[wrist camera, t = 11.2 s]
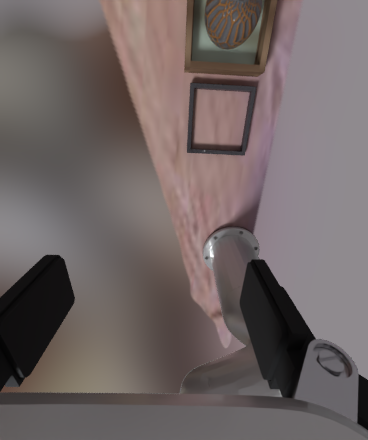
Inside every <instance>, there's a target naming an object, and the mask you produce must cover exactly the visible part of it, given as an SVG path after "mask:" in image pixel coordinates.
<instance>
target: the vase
mask: <svg viewBox="0 0 368 440" xmlns="http://www.w3.org/2000/svg"><path fill="white" fill-rule="evenodd" d="M261 8H262V0H207V1H206V6H205V27H206V31H207V34H208V36H209V38H210V40H211V41H212V42H213V44H215V45H216V46H217V47H219V48H221V49H225V50H229V49H234V48H236V47H238V46H240V45H242V44H243V43H244V42H245V41H246V40H247V39H248V38H249V37H250V35H251V34H252V32H253V31H254V29H255V27H256V25H257V23H258V20H259V17H260V13H261Z"/></svg>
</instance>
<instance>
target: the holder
mask: <svg viewBox="0 0 368 440" xmlns="http://www.w3.org/2000/svg"><path fill="white" fill-rule="evenodd" d="M206 1H207V0H187V21H186V46H185V71H184V72H188V73H205V74H221V75H238V76H255V77H258V76H259V75H261V74H262V73H264V71H265V66H266V60H267V55H268V49H269V44H270V38H271V32H272V27H273V21H274V16H275V10H276V5H277V0H262V8H261V13H260V17H259V20H258V23H257V25H256V27H255V29H254V31H253V32H252V34H251V35H250V37H249V38H248V39H247V40H246V41H245V42H244V43H243V44H242V45H240V46H238V47H236V48H234V49H229V50H225V49H221V48H219V47H217V46H216V45H215V44H213V42H212V41H211V40H210V38H209V36H208V34H207V31H206V27H205V6H206Z"/></svg>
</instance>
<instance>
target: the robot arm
mask: <svg viewBox="0 0 368 440" xmlns="http://www.w3.org/2000/svg"><path fill="white" fill-rule="evenodd" d="M215 236H216V237H215ZM258 254H259V244H258V241H257V239H256V238H255V236H254V235H253V234H252V233H251V232H249V231H248V230H246V229H244V228H240V227H226V228H222V229H220V230H218V231H216V232H214V233H213V234H212V235H211V236H210V237H209V238H208V239H207V240H206V242H205V244H204V247H203V258H204V261H205V263H206V265H207V266H208V267H209V268H210V269H211V270H213V272H214V277H215V282H216V287H217V291H218V296H219V301H220V306H221V310H222V315H223V319H224V322H225V324H226V326H227V328H228V330H229V331H230V332H231V334H232V335H233V336H234V337H236V338H237V339H238V340H239V341H240V342H241V343H243V344H244V345H246V347H244V348H242V349H240V350H238V351H235V352H234V353H231V354H229V355H226V356H224V357H221V358H218V359H216V360H213V361H211V362H208V363H206V364H203V365H201V366H198V367H196V368H195V369H193V370H192V371H190V372H189V373H188V374H187V375H186V377H185V378H184V380H183V382H182V385H181V389H180V394H158V393H156V394H155V393H153V394H152V393H0V440H368V380H367V379H366V378H364V377H362V376H361V375H359V374H358V369H357V367H356V365H355V363H354V361H353V360H352V358H351V357H350V356H349V355H348V354H347V353H346V352H345V351H344V350H343V349H341V348H340V347H339V346H337V345H335V344H334V343H332V342H329V341H327V340H322V339H315V337H314V335H313V334H312V332H311V331H310V329H309V327H308V326H307V325H306V323H305V321H304V319H303V318H302V316H301V314H300V313H299V311H298V310H297V308H296V306H295V305H294V303H293V302H292V300H291V299H290V297H289V295H288V294H287V292H286V291H285V289H284V288H283V287H281V286H280V285H279V284H278V282H277V280H276V279H275V277H274V275H273V274H272V272H271V270H270V269H269V267H268V265H267V264H266V262H265V261H264V260H260V259H259V257H258ZM74 299H75V297H74V293H73V290H72V286H71V282H70V279H69V275H68V272H67V268H66V265H65V261H64V259H63V258H61V257H60V256H59V255H46V256H44V257H43V258H42V259H41V260H40V261H39V262H37V263H36V264H35V265H34V266H33V267H32V268H31V269H30V270H29V271H28V272H27V273H26V274H25V275H24V276H23V277H21V278H20V279H19V280H18V281H17V282H16V283H15V284H14V285H13V286H12V287H11V288H10V289H9V290H8V291H7V292H6V293H5V294H4V295H3V296H1V298H0V391H1V390H2V388H3V387H4V385H5V386H6V387H19V386H20V385H21V383H22V382H23V380H24V379H25V377H28V376H29V375H30V374H31V372H32V371H33V369H34V368H35V366H36V364H37V363H38V361H39V359H40V358H41V356H42V354H43V353H44V351H45V350H46V348H47V346H48V345H49V343H50V341H51V339H52V338H53V337H54V335H55V333H56V332H57V330H58V328H59V327H60V325H61V323H62V322H63V320H64V319H65V317H66V315H67V314H68V312H69V310H70V309H71V307H72V306H73V304H74Z"/></svg>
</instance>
